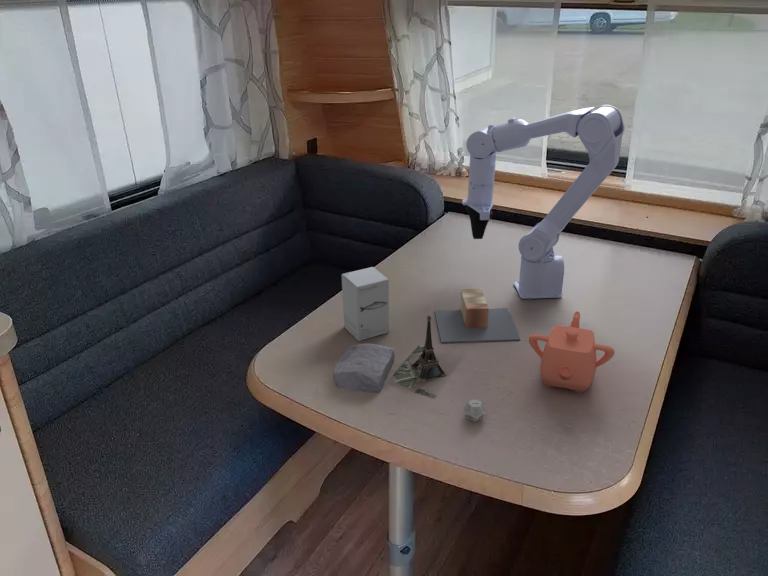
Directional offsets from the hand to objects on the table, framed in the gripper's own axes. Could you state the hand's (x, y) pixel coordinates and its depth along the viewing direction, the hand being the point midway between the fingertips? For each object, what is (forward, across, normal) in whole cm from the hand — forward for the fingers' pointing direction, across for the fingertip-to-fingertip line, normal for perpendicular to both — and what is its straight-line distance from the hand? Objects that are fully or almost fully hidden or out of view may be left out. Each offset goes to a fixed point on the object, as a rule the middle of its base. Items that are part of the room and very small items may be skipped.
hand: (477, 237), depth 148 cm
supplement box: (+11, +23, -26) cm, 37 cm away
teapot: (+10, +43, +10) cm, 45 cm away
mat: (+10, +23, -4) cm, 25 cm away
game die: (+10, +53, -8) cm, 55 cm away
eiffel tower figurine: (+11, +39, -15) cm, 43 cm away
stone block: (+11, +39, -27) cm, 49 cm away
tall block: (+8, +16, -4) cm, 18 cm away
